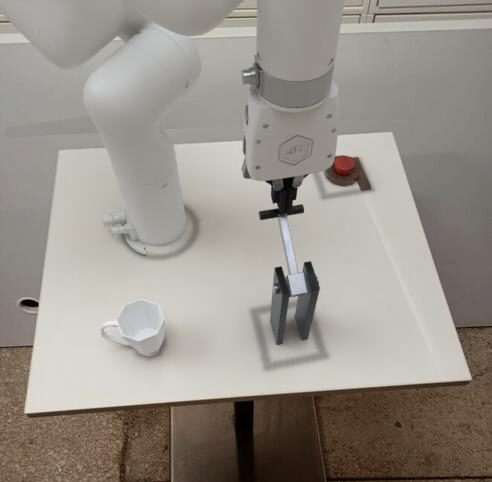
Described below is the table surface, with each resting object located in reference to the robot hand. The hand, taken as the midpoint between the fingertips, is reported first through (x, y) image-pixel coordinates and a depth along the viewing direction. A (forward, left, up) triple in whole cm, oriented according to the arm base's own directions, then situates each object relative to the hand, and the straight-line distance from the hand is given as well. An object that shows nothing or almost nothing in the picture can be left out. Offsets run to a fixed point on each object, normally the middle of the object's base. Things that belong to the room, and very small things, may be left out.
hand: (282, 203), depth 65 cm
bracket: (0, -9, -20) cm, 22 cm away
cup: (-23, -6, -20) cm, 31 cm away
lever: (0, -4, -5) cm, 7 cm away
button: (+18, +21, -18) cm, 33 cm away
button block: (+18, +21, -20) cm, 34 cm away
